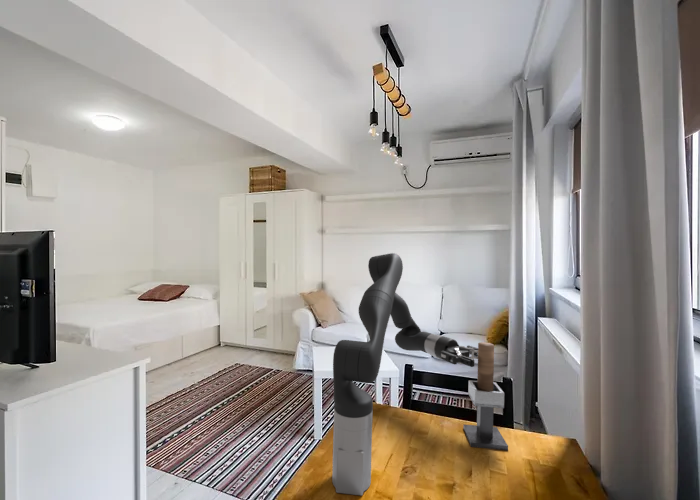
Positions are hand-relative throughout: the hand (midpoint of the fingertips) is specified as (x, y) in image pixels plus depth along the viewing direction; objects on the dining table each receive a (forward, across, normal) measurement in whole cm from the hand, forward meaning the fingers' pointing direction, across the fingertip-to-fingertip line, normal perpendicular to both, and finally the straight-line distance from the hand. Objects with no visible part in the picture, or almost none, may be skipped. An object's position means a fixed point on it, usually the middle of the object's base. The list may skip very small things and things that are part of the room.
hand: (482, 361), depth 99 cm
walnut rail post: (+1, 0, +11) cm, 11 cm away
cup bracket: (+1, 0, +23) cm, 23 cm away
